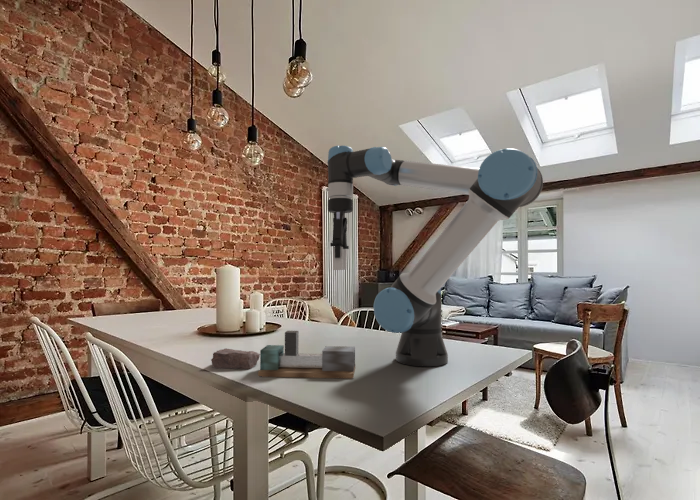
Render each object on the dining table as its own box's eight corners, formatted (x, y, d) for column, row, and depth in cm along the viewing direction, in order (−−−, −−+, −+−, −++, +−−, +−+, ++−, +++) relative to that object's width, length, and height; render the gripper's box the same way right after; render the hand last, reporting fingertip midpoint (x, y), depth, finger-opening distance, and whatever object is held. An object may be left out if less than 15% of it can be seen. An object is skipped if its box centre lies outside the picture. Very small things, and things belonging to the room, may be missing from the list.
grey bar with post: (329, 365, 104) (330, 331, 104) (328, 368, 101) (328, 333, 101) (270, 364, 105) (271, 330, 105) (267, 367, 102) (267, 332, 102)
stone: (250, 371, 105) (250, 353, 105) (208, 370, 106) (208, 352, 106) (262, 362, 114) (262, 346, 114) (224, 361, 115) (224, 345, 115)
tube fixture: (355, 368, 107) (355, 345, 107) (353, 378, 97) (353, 353, 97) (269, 366, 108) (269, 343, 109) (258, 376, 98) (258, 351, 99)
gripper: (332, 205, 130) (332, 269, 129) (322, 191, 105) (321, 270, 104) (355, 205, 129) (355, 269, 128) (349, 190, 104) (349, 270, 104)
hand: (340, 270), depth 116 cm, fingers open, 13 cm apart
